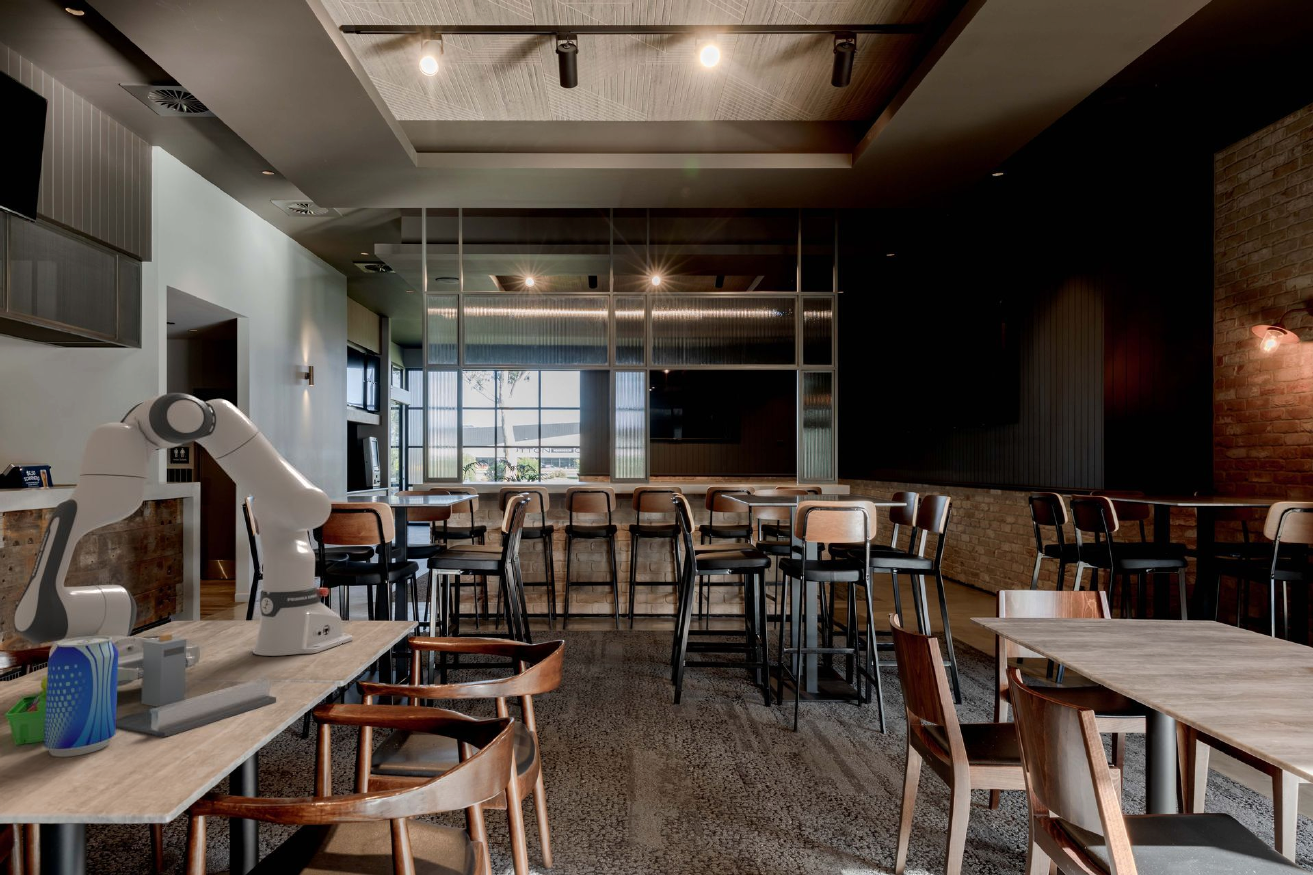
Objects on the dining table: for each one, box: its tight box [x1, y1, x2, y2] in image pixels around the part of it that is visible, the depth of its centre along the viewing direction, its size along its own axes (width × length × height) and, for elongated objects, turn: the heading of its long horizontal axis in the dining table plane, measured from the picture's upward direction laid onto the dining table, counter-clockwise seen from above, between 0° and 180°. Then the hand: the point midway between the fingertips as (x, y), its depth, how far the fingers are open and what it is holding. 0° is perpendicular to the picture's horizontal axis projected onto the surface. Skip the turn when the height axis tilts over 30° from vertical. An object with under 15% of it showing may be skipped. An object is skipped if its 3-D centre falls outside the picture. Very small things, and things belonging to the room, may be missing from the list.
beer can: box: [43, 636, 118, 758], centre depth 111 cm, size 8×8×16 cm
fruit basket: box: [4, 675, 47, 746], centre depth 117 cm, size 11×9×11 cm
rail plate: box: [116, 678, 277, 738], centre depth 127 cm, size 20×14×4 cm
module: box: [141, 633, 188, 707], centre depth 134 cm, size 4×5×12 cm
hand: (166, 668), depth 133 cm, fingers open, 8 cm apart
